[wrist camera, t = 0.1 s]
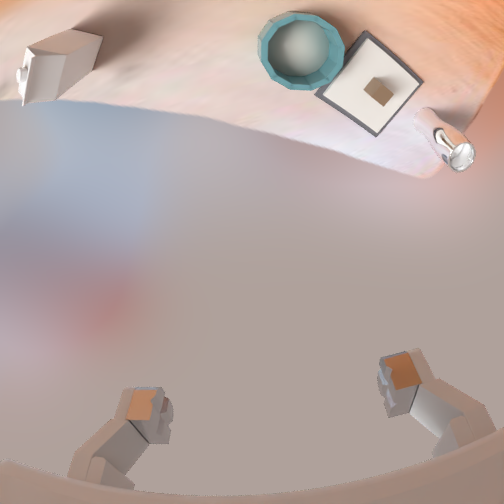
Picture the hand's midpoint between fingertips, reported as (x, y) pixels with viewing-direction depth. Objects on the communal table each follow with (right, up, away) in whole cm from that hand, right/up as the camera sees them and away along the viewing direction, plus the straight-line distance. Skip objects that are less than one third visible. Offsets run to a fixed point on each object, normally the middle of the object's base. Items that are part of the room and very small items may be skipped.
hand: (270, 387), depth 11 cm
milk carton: (-31, +40, +31) cm, 59 cm away
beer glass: (+35, +33, +45) cm, 66 cm away
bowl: (+7, +39, +35) cm, 53 cm away
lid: (+22, +35, +40) cm, 57 cm away
